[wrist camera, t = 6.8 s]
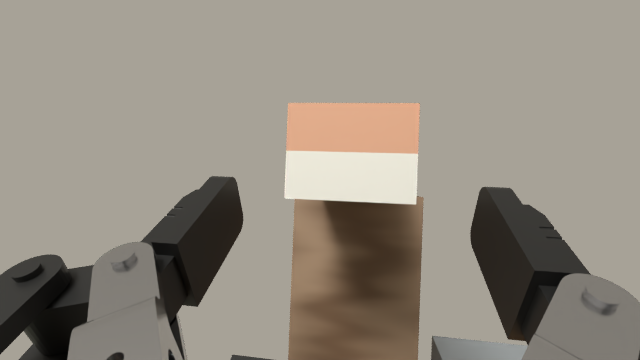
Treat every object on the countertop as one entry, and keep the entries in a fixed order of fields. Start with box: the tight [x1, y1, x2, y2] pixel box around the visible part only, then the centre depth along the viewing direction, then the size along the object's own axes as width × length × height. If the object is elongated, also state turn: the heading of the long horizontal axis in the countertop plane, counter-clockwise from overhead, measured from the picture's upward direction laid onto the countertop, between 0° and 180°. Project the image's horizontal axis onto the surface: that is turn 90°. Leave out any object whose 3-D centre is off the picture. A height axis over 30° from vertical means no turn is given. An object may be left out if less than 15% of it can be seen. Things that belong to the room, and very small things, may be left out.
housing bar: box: [284, 103, 420, 205], centre depth 19 cm, size 4×19×3 cm, turn 172°
